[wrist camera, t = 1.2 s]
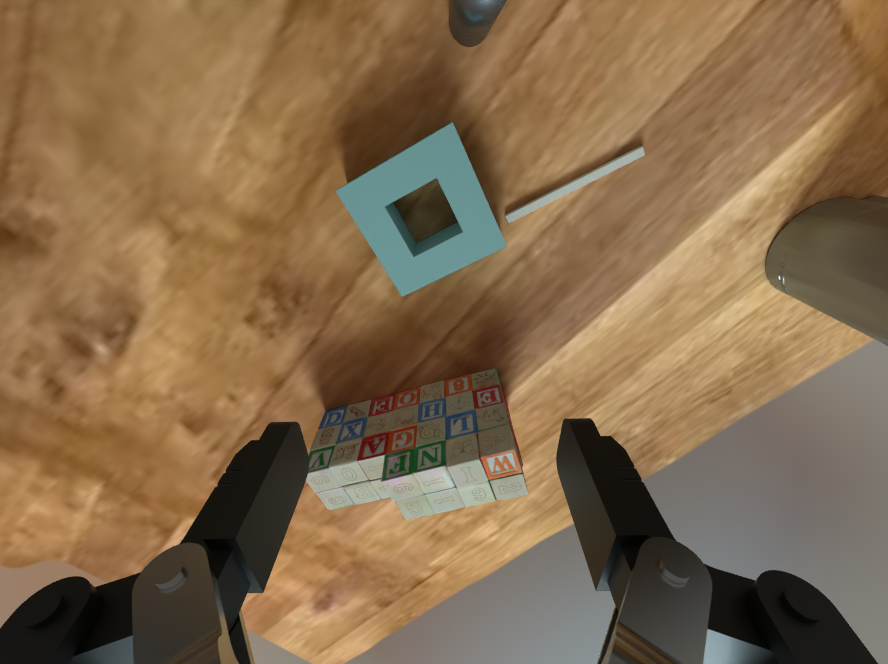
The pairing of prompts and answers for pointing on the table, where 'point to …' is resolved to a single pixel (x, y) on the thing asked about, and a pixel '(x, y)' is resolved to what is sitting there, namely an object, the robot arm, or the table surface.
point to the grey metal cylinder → (473, 19)
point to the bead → (388, 231)
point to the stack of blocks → (420, 449)
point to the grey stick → (576, 183)
